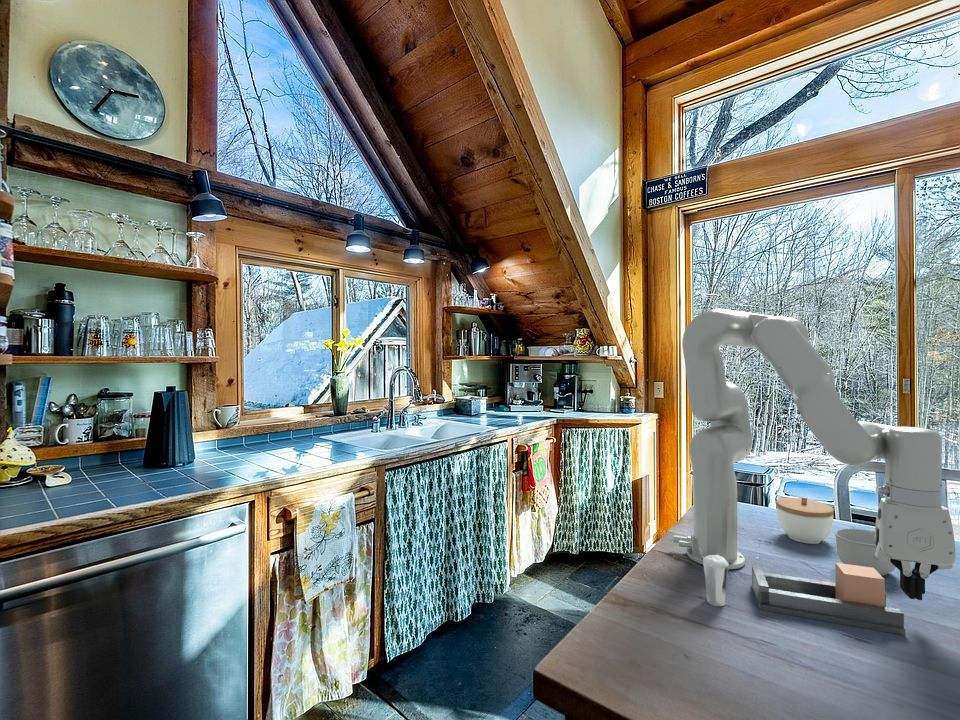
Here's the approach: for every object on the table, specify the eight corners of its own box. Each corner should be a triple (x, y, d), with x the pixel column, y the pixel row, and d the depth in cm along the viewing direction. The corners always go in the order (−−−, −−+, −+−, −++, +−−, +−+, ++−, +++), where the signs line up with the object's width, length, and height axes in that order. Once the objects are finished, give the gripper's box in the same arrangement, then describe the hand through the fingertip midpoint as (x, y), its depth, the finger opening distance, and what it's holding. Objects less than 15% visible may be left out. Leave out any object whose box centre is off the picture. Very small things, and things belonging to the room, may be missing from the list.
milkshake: (703, 592, 96) (703, 544, 96) (731, 602, 92) (731, 552, 92) (695, 600, 93) (695, 551, 92) (724, 611, 89) (724, 559, 89)
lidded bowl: (767, 528, 130) (767, 489, 130) (816, 530, 129) (816, 491, 129) (791, 547, 118) (791, 504, 118) (845, 549, 116) (845, 506, 116)
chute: (759, 609, 89) (759, 586, 89) (751, 585, 98) (751, 564, 98) (905, 635, 81) (905, 609, 81) (881, 606, 90) (881, 583, 90)
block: (844, 611, 86) (844, 573, 86) (835, 598, 91) (835, 562, 91) (884, 617, 84) (884, 579, 84) (873, 604, 88) (873, 567, 88)
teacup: (882, 586, 98) (882, 548, 98) (825, 565, 108) (825, 531, 108) (912, 571, 104) (912, 536, 104) (855, 553, 114) (855, 521, 114)
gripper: (869, 497, 84) (869, 598, 84) (980, 506, 78) (979, 615, 78) (854, 486, 90) (854, 579, 91) (954, 494, 85) (954, 594, 85)
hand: (912, 595), depth 84 cm, fingers closed
